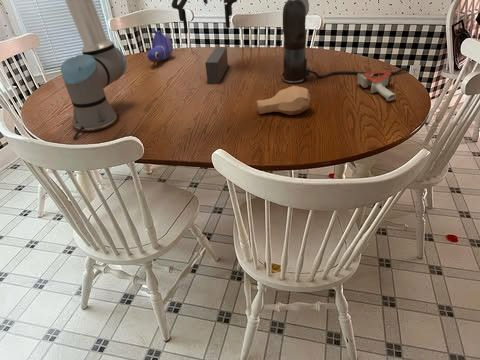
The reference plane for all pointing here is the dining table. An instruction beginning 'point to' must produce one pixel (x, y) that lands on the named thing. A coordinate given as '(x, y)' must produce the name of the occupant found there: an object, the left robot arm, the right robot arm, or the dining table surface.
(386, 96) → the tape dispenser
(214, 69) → the bar
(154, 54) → the toy
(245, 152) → the dining table surface
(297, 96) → the squash
